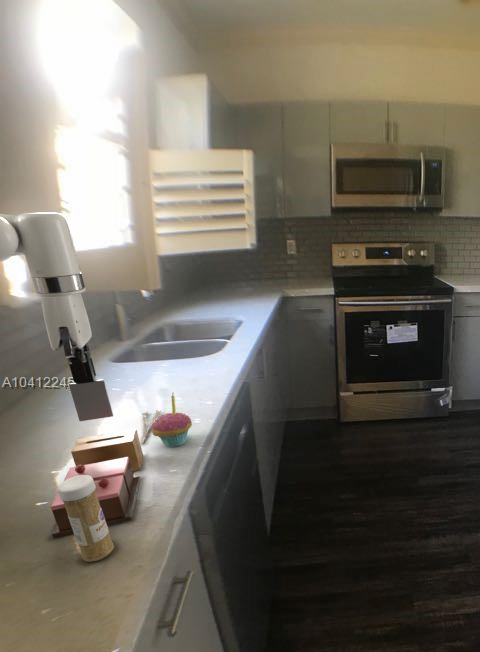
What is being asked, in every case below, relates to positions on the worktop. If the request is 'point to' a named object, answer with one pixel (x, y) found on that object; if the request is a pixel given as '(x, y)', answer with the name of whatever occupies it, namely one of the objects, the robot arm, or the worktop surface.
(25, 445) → the worktop surface
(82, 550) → the sprinkles bottle
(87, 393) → the knife
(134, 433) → the knife block
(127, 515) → the pink double-door cabinet
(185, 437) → the cupcake
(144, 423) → the tweezers
